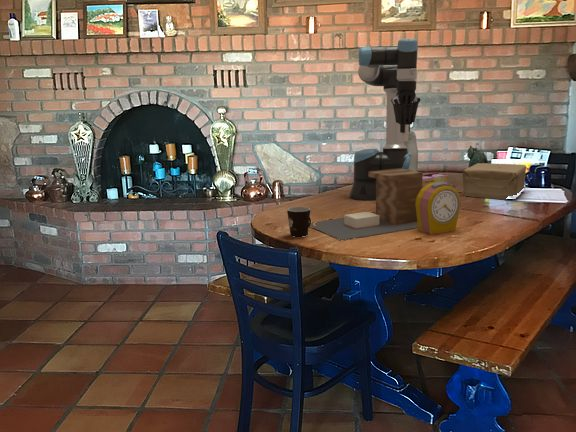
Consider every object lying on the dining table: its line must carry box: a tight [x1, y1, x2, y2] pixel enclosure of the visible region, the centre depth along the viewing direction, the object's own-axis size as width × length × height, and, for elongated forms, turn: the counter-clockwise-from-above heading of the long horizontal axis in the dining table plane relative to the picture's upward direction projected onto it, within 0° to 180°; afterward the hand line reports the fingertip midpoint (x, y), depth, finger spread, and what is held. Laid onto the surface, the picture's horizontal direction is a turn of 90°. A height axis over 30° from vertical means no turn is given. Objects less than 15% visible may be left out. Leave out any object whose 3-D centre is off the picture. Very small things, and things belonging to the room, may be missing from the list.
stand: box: [368, 168, 424, 225], centre depth 228 cm, size 14×16×20 cm
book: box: [343, 211, 379, 229], centre depth 222 cm, size 8×11×4 cm
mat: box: [310, 212, 418, 241], centre depth 225 cm, size 28×44×1 cm, turn 117°
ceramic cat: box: [466, 142, 489, 168], centre depth 323 cm, size 20×6×20 cm, turn 6°
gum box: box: [422, 172, 449, 188], centre depth 256 cm, size 24×8×14 cm, turn 127°
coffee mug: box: [286, 206, 312, 238], centre depth 208 cm, size 12×9×10 cm
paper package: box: [462, 163, 527, 201], centre depth 279 cm, size 27×26×14 cm
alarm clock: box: [415, 182, 462, 235], centre depth 213 cm, size 15×8×18 cm, turn 114°
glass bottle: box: [404, 130, 419, 172], centre depth 318 cm, size 10×10×28 cm
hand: (404, 140), depth 227 cm, fingers closed
